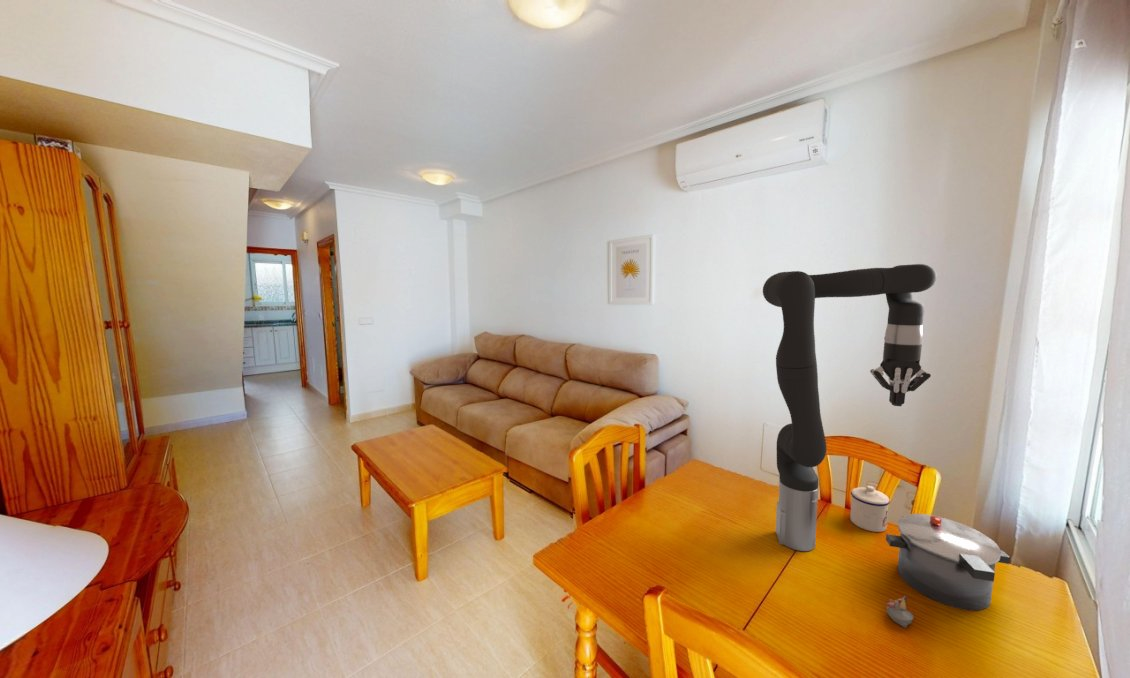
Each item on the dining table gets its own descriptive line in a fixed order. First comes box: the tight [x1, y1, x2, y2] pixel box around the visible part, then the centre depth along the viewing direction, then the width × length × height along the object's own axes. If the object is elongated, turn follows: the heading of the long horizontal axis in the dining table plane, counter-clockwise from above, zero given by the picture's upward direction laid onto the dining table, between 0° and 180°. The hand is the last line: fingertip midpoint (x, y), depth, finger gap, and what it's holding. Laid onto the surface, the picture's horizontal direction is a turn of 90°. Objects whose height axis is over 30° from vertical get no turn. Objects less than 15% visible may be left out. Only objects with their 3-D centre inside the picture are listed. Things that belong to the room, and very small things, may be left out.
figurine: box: [886, 595, 915, 628], centre depth 84 cm, size 5×4×6 cm
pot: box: [885, 533, 1011, 611], centre depth 94 cm, size 22×17×11 cm
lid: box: [897, 513, 1001, 583], centre depth 90 cm, size 22×17×3 cm
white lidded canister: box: [849, 485, 891, 533], centre depth 118 cm, size 12×9×12 cm
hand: (896, 405), depth 106 cm, fingers closed
